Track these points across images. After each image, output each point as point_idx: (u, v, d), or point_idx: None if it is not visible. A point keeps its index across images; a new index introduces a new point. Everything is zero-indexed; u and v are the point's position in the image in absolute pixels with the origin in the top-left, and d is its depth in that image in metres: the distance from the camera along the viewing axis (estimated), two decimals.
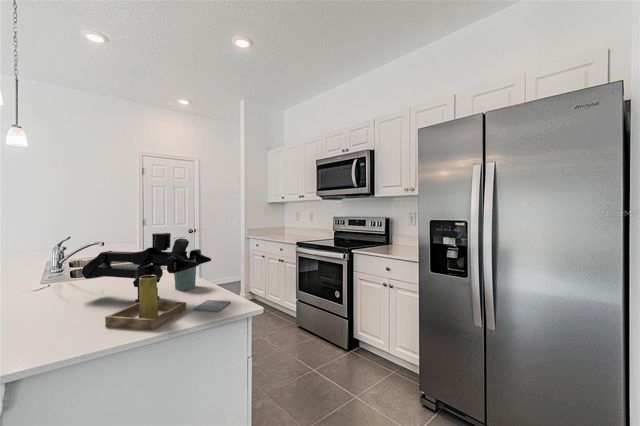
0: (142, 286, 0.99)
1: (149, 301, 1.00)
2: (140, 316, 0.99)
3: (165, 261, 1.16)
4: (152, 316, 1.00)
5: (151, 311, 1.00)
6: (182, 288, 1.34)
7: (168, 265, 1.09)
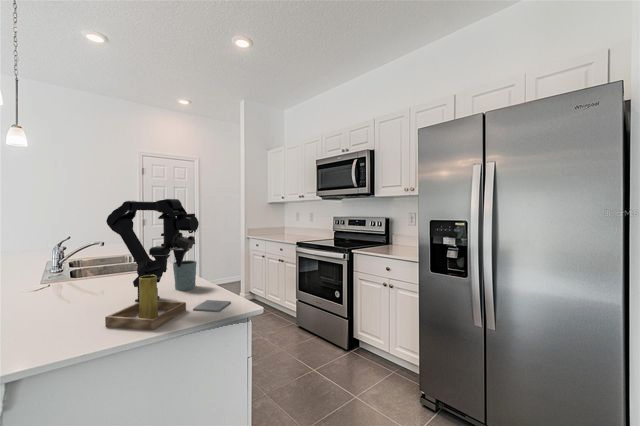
0: (142, 286, 0.99)
1: (149, 301, 1.00)
2: (140, 316, 0.99)
3: (166, 232, 1.15)
4: (152, 316, 1.00)
5: (151, 311, 1.00)
6: (182, 288, 1.34)
7: (155, 250, 1.09)
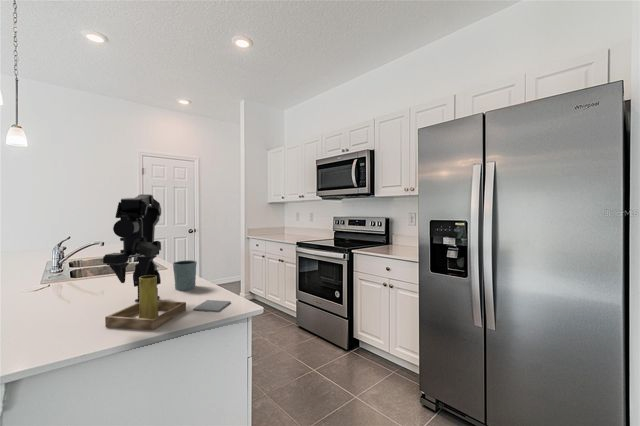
0: (142, 286, 0.99)
1: (149, 301, 1.00)
2: (140, 316, 0.99)
3: (125, 237, 0.99)
4: (152, 316, 1.00)
5: (151, 311, 1.00)
6: (182, 288, 1.34)
7: (109, 258, 0.93)
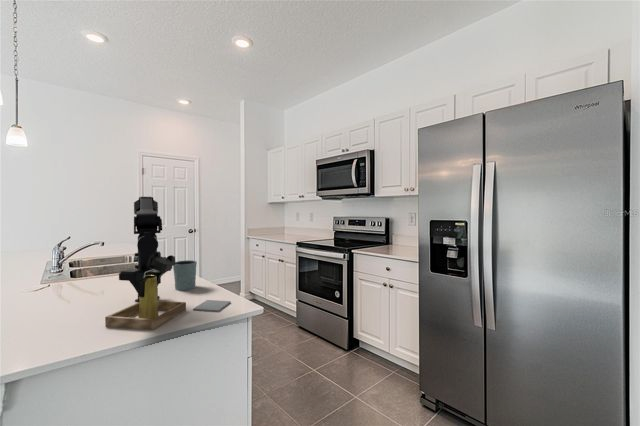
0: None
1: (149, 301, 1.00)
2: (140, 316, 0.99)
3: (140, 252, 0.99)
4: (152, 316, 1.00)
5: (151, 311, 1.00)
6: (182, 288, 1.34)
7: (125, 275, 0.92)
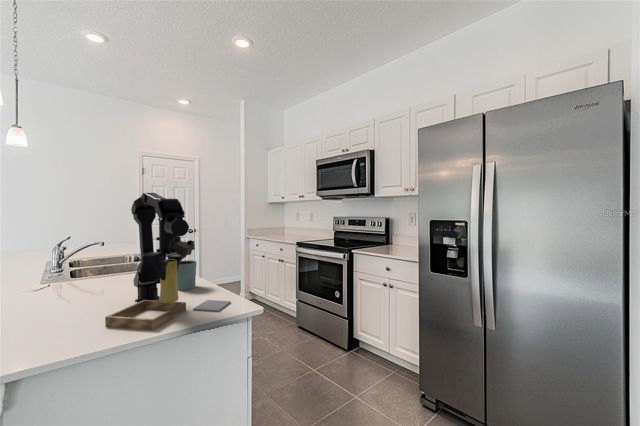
0: None
1: (170, 284, 1.03)
2: (161, 298, 1.03)
3: (161, 236, 1.02)
4: (173, 298, 1.03)
5: (172, 293, 1.03)
6: (182, 288, 1.34)
7: (148, 257, 0.95)
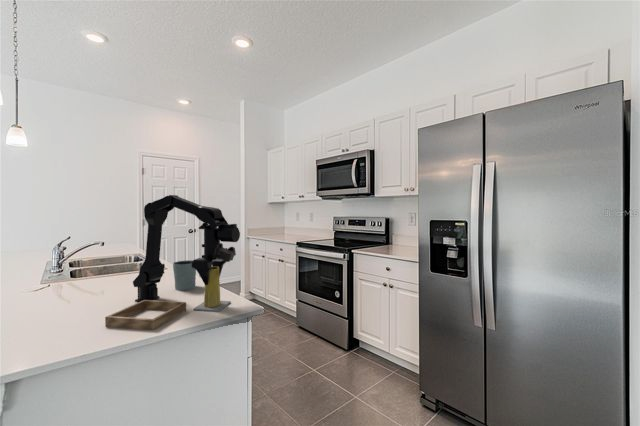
0: None
1: (214, 289, 1.11)
2: (206, 303, 1.11)
3: (207, 243, 1.10)
4: (216, 303, 1.12)
5: (215, 298, 1.12)
6: (182, 288, 1.34)
7: (198, 263, 1.04)
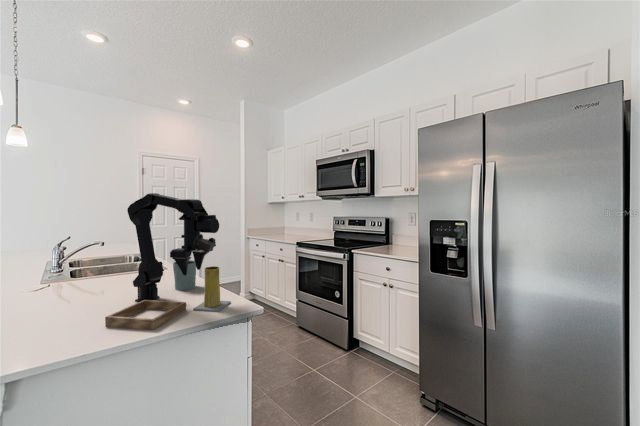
0: (208, 276, 1.11)
1: (214, 289, 1.11)
2: (206, 303, 1.11)
3: (186, 234, 1.11)
4: (216, 303, 1.12)
5: (215, 298, 1.12)
6: (182, 288, 1.34)
7: (176, 253, 1.05)
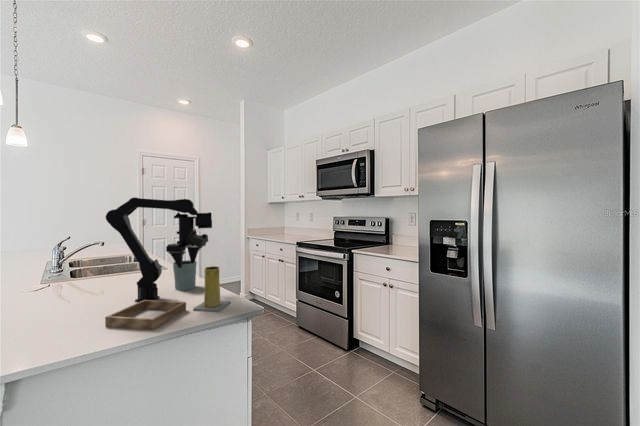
0: (208, 276, 1.11)
1: (214, 289, 1.11)
2: (206, 303, 1.11)
3: (181, 230, 1.22)
4: (216, 303, 1.12)
5: (215, 298, 1.12)
6: (182, 288, 1.34)
7: (172, 247, 1.16)
